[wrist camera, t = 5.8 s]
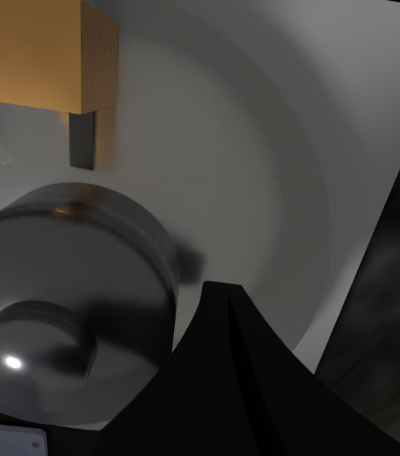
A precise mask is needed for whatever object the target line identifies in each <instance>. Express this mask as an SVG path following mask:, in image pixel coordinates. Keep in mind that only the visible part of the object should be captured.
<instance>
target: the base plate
mask: <svg viewBox="0 0 400 456" xmlns="http://www.w3.org/2000/svg"><path fill="white" fill-rule="evenodd" d="M167 1H169V2H172V3H174V4H175V5H177V6H178V7H180V8H182V9H183V10H185V11H187V12H188V13H190V14H192V15H193V16H195V17H197V18H198V19H200V20H201V21H203V22H205V23H206V24H208V25H210V26H211V27H213V28H214V29H215V30H217V31H218V32H219V33H220V34H221V35H223V36H224V37H225V38H226V39H227V40H229V41H230V42H231V43H232V44H234V45H235V46H236V47H237V48H238V49H240V50H241V51H242V52H243V53H245V54H246V55H247V56H248V57H249V58H250V59H251V60H252V61H253V62H254V64H255V65H256V66H257V67H258V68H259V69H260V70H261V71H262V72H263V73H264V74H265V76H266V77H267V78H268V79H269V80H270V81H271V82H272V83H273V84H274V85H275V86H276V88H277V89H278V91H279V92H280V93H281V95H282V96H283V98H284V99H285V101H286V102H287V104H288V105H289V107H290V108H291V110H292V111H293V112H294V114H295V115H296V117H297V118H298V120H299V121H300V123H301V126H302V128H303V130H304V132H305V134H306V136H307V138H308V140H309V142H310V144H311V146H312V148H313V150H314V152H315V154H316V157H317V160H318V163H319V167H320V170H321V173H322V176H323V179H324V182H325V185H326V189H327V196H328V202H329V208H330V214H331V233H332V251H331V258H330V265H329V272H328V279H327V282H326V285H325V289H324V292H323V295H322V299H321V302H320V305H319V307H318V309H317V311H316V313H315V316H314V318H313V320H312V322H311V324H310V326H309V328H308V330H307V331H306V333H305V334H304V336H303V337H302V339H301V341H300V342H299V344H298V345H297V347H296V348H295V349H294V351H293V352H292V353H293V354H294V355H295V356H296V357H297V358H298V359H299V360H300V361H301V362H302V363H303V364H304V365H305V366H306V367H307V368H308V369H309V370H310V371H311V372H312V373H313V374H314V373H315V370H316V368H317V366H318V363H319V361H320V359H321V356H322V354H323V351H324V349H325V347H326V344H327V342H328V339H329V337H330V335H331V332H332V330H333V327H334V325H335V323H336V320H337V318H338V315H339V313H340V311H341V308H342V306H343V303H344V301H345V299H346V296H347V294H348V291H349V289H350V287H351V284H352V282H353V280H354V277H355V275H356V272H357V270H358V268H359V265H360V263H361V260H362V258H363V256H364V253H365V251H366V248H367V246H368V244H369V241H370V239H371V236H372V234H373V232H374V229H375V227H376V224H377V222H378V220H379V217H380V215H381V212H382V210H383V208H384V205H385V203H386V201H387V198H388V196H389V193H390V191H391V189H392V186H393V184H394V181H395V179H396V177H397V174H398V172H399V169H400V3H398V2H393V1H387V0H167Z"/></svg>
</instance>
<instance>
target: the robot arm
mask: <svg viewBox="0 0 400 456" xmlns="http://www.w3.org/2000/svg"><path fill="white" fill-rule="evenodd" d="M0 456H48V450H47V438H46V433H45V432H44V431H43V430H42V429H38V428H28V427H18V426H8V425H0ZM86 456H400V442H398V441H397V440H395V439H394V438H392V437H391V436H389V435H388V434H386V433H385V432H383V431H382V430H381V429H379V428H378V427H377V426H375V425H374V424H373V423H371V422H370V421H369V420H367V419H366V418H365V417H363V416H362V415H361V414H359V413H358V412H357V411H356V410H354V409H353V408H352V407H351V406H349V405H348V404H347V403H346V402H344V401H343V400H342V399H341V398H340V397H338V396H337V395H336V394H335V393H334V392H333V391H332V390H330V389H329V388H328V387H327V386H326V385H325V384H324V383H322V382H321V381H320V380H319V379H318V378H317V377H316V376H315V375H314V374H313V373H312V372H311V371H310V370H309V369H308V368H307V367H306V366H305V365H304V364H303V363H302V362H301V361H300V360H299V359H298V358H297V357H296V356H295V355H294V354H293V353H292V352H291V351H290V350H289V348H288V347H287V346H286V345H285V344H284V343H283V341H282V340H281V339H280V338H279V337H278V335H277V334H276V333H275V332H274V330H273V329H272V328H271V327H270V325H269V324H268V322H267V321H266V320H265V318H264V317H263V316H262V314H261V313H260V312H259V310H258V309H257V307H256V306H255V304H254V303H253V301H252V300H251V298H250V297H249V295H248V294H247V292H246V291H245V289H244V288H243V286H242V285H239V284H231V283H224V282H216V281H208V280H206V281H205V282H203V285H202V291H201V296H200V301H199V304H198V307H197V309H196V311H195V314H194V316H193V318H192V320H191V322H190V324H189V326H188V327H187V329H186V331H185V333H184V335H183V336H182V338H181V340H180V341H179V343H178V344H177V346H176V347H175V349H174V350H173V352H172V353H171V355H170V356H169V358H168V359H167V360H166V361H165V363H164V364H163V365H162V367H161V368H160V369H159V371H158V372H157V373H156V374H155V376H154V377H153V378H152V379H151V380H150V381H149V382H148V383H147V385H146V386H145V387H144V388H143V389H142V390H141V391H140V392H139V393H138V394H137V396H136V397H135V398H134V399H133V400H132V401H131V402H130V403H129V404H128V405H127V406H126V407H125V408H124V409H123V410H122V411H120V412H119V413H118V414H117V415H116V416H115V417H114V418H113V419H112V420H111V421H110V422H109V423H108V424H107V425H105V426H104V427H103V428H102V429H101V431H100V432H99V434H98V436H97V437H96V439H95V441H94V442H93V444H92V445H91V447H90V449H89V450H88V452H87V454H86Z"/></svg>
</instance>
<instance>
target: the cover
mask: <svg viewBox="0 0 400 456" xmlns="http://www.w3.org/2000/svg"><path fill="white" fill-rule="evenodd" d="M179 286H180V264H179V259H178V255H177V252H176V249H175V246H174V244H173V242H172V240H171V238H170V236H169V235H168V233H167V231H166V230H165V229H164V227H163V226H162V225H161V223H160V222H159V221H158V220H157V219H156V218H155V217H154V216H153V215H152V214H151V213H150V212H149V211H148V210H147V209H145V208H144V207H143V206H142V205H140V204H139V203H137V202H136V201H134V200H132V199H131V198H129V197H127V196H125V195H123V194H121V193H119V192H117V191H114V190H112V189H109V188H106V187H103V186H98V185H94V184H89V183H78V182H68V183H57V184H51V185H47V186H43V187H40V188H37V189H35V190H33V191H31V192H29V193H26V194H25V195H23V196H21V197H20V198H18V199H17V200H15V201H14V202H12V203H10V204H9V205H7V206H6V207H4V208H2V209H1V210H0V412H1V413H3V414H6V415H9V416H12V417H15V418H18V419H22V420H26V421H30V422H35V423H41V424H48V425H61V426H75V425H87V424H94V423H99V422H104V421H108V420H111V419H113V418H114V417H115V416H116V415H117V414H118V413H119V412H120V411H122V410H123V409H124V408H125V407H126V406H127V405H128V404H129V403H130V402H131V401H132V400H133V399H134V398H135V397H136V396H137V394H138V393H139V392H140V391H141V390H142V389H143V388H144V387H145V386H146V385H147V383H148V382H149V381H150V380H151V379H152V378H153V377H154V376H155V374H156V373H157V372H158V371H159V369H160V368H161V367H162V365H163V364H164V363H165V361H166V360H167V359H168V358H169V356H170V355H171V353H172V348H173V339H174V330H175V321H176V312H177V303H178V295H179Z"/></svg>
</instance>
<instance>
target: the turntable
mask: <svg viewBox="0 0 400 456" xmlns="http://www.w3.org/2000/svg"><path fill="white" fill-rule="evenodd" d="M68 182H78V183H89V184H94V185H98V186H103V187H106V188H109V189H112V190H114V191H117V192H119V193H121V194H123V195H125V196H127V197H129V198H131V199H132V200H134V201H136V202H137V203H139V204H140V205H142V206H143V207H144V208H145V209H147V210H148V211H149V212H150V213H151V214H152V215H153V216H154V217H155V218H156V219H157V220H158V221H159V222H160V223H161V225H162V226H163V227H164V229H165V230H166V231H167V233H168V235H169V236H170V238H171V240H172V242H173V244H174V246H175V249H176V252H177V255H178V259H179V264H180V286H179V295H178V303H177V312H176V321H175V330H174V339H173V348H172V352H173V350H174V349H175V347H176V346H177V344H178V343H179V341H180V340H181V338H182V336H183V335H184V333H185V331H186V329H187V327H188V326H189V324H190V322H191V320H192V318H193V316H194V314H195V311H196V309H197V307H198V304H199V301H200V296H201V291H202V285H203V282H205V281H206V280H208V281H216V282H224V283H231V284H239V285H242V286H243V288H244V289H245V291H246V292H247V294H248V295H249V297H250V298H251V300H252V301H253V303H254V304H255V306H256V307H257V309H258V310H259V312H260V313H261V314H262V316H263V317H264V318H265V320H266V321H267V322H268V324H269V325H270V327H271V328H272V329H273V330H274V332H275V333H276V334H277V335H278V337H279V338H280V339H281V340H282V341H283V343H284V344H285V345H286V346H287V347H288V348H289V350H290V351H291V352H293V351H294V349H295V348H296V347H297V345H298V344H299V342H300V341H301V339H302V337H303V336H304V334H305V333H306V331H307V330H308V328H309V326H310V324H311V322H312V320H313V318H314V316H315V313H316V311H317V309H318V307H319V305H320V302H321V299H322V295H323V292H324V289H325V285H326V282H327V279H328V272H329V265H330V258H331V251H332V233H331V214H330V208H329V202H328V196H327V189H326V185H325V182H324V179H323V176H322V173H321V170H320V167H319V163H318V160H317V157H316V154H315V152H314V150H313V148H312V146H311V144H310V142H309V140H308V138H307V136H306V134H305V132H304V130H303V128H302V126H301V123H300V121H299V120H298V118H297V117H296V115H295V114H294V112H293V111H292V110H291V108H290V107H289V105H288V104H287V102H286V101H285V99H284V98H283V96H282V95H281V93H280V92H279V91H278V89H277V88H276V86H275V85H274V84H273V83H272V82H271V81H270V80H269V79H268V78H267V77H266V76H265V74H264V73H263V72H262V71H261V70H260V69H259V68H258V67H257V66H256V65H255V64H254V62H253V61H252V60H251V59H250V58H249V57H248V56H247V55H246V54H245V53H243V52H242V51H241V50H240V49H238V48H237V47H236V46H235V45H234V44H232V43H231V42H230V41H229V40H227V39H226V38H225V37H224V36H223V35H221V34H220V33H219V32H218V31H217V30H215V29H214V28H213V27H211V26H210V25H208V24H206V23H205V22H203V21H201V20H200V19H198V18H197V17H195V16H193V15H192V14H190V13H188V12H187V11H185V10H183V9H182V8H180V7H178V6H177V5H175V4H174V3H172V2H169V1H167V0H0V210H1V209H2V208H4V207H6V206H7V205H9V204H10V203H12V202H14V201H15V200H17V199H18V198H20V197H21V196H23V195H25V194H26V193H29V192H31V191H33V190H35V189H37V188H40V187H43V186H47V185H51V184H57V183H68ZM111 420H112V419H111ZM111 420H108V421H104V422H99V423H94V424H87V425H75V426H63V427H70V428H77V429H85V430H101V429H102V428H103V427H104V426H105V425H107V424H108V423H109V422H110V421H111ZM57 426H61V425H57Z"/></svg>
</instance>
